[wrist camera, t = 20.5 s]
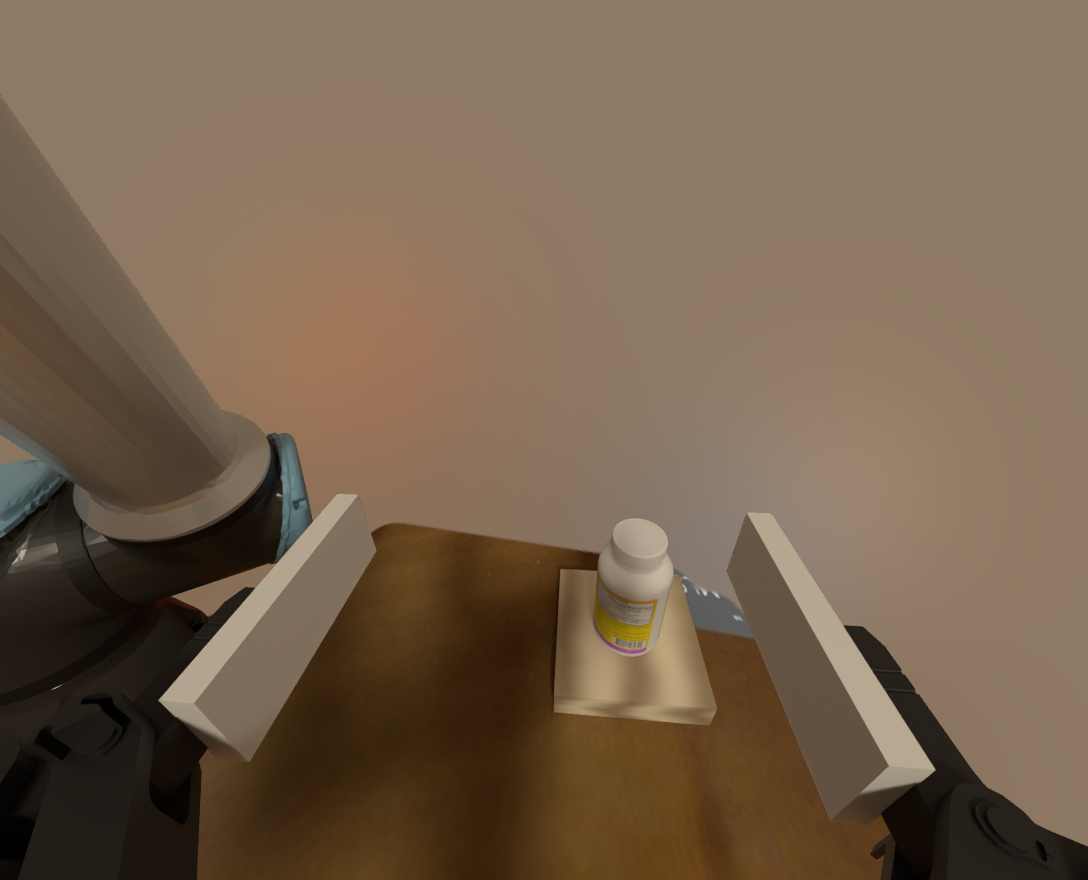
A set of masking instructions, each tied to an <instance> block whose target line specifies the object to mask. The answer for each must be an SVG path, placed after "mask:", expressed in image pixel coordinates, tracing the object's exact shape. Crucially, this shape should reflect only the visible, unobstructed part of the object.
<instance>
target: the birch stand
mask: <svg viewBox="0 0 1088 880" xmlns="http://www.w3.org/2000/svg"><path fill="white" fill-rule="evenodd" d="M596 583H597V571H589V570H572V569H561V570H560V589H559V608H558V627H557V646H556V665H555V684H554V712H557V713H569V714H581V715H592V716H604V717H616V718H628V719H639V720H651V721H663V722H675V723H686V724H698V725H710V723H711V721H712V719H713V717H714V715H715V712H716V710H717V707H716V703H715V699H714V696H713V692H712V689H711V685H710V681H709V678H708V674H707V671H706V667H705V664H704V660H703V656H702V653H701V649H700V646H699V642H698V638H697V635H696V631H695V628H694V624H693V621H692V617H691V613H690V610H689V606H688V603H687V599H686V595H685V592H684V588H683V585H682V581H681V578H680V576H675V575H673V580H672V585H671V589H670V593H669V597H668V601H667V605H666V609H665V614H664V618H663V622H662V627H661V631H660V635H659V638H658V641H657V643H656V644H655V646H654V647H653V648H652V649H651V650H650V651H649V652H647V653H645V654H643V655H640V656H635V657H629V656H623V655H619V654H617V653H615V652H613V651H611V650H610V649H608V648H607V647H606V646H605V645H604V644H603V643H602V642H601V641H600V639H599V638H598V636H597V634H596V631H595V628H594V621H593V620H594V606H595V595H596Z"/></svg>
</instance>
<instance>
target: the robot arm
mask: <svg viewBox="0 0 1088 880" xmlns="http://www.w3.org/2000/svg"><path fill="white" fill-rule="evenodd" d="M0 434H1V435H2V436H4V437H5V438H7V439H8V440H10V441H11V442H13V443H14V444H16V445H17V446H19V447H20V448H22V449H23V450H25V451H26V452H28V453H29V454H31V455H33V456H34V457H36V458H37V459H39V460H24V461H17V462H13V463H7V464H3V465H0V880H197V861H198V839H199V817H200V794H201V768H200V764H199V760H200V759H201V757H202V756H203V754H204V753H205V752H206V750H207V749H208V750H209V751H210V752H211V753H212V754H213V755H214V756H216V757H217V758H218V759H219V760H227V761H237V762H247V763H249V762H250V760H251V758H252V757H253V755H254V753H255V752H256V750H257V748H258V747H259V745H260V744H261V742H262V740H263V739H264V737H265V735H266V734H267V732H268V730H269V729H270V727H271V725H272V724H273V722H274V720H275V719H276V717H277V715H278V714H279V712H280V710H281V709H282V707H283V705H284V704H285V702H286V700H287V699H288V697H289V695H290V694H291V692H292V690H293V689H294V687H295V685H296V684H297V682H298V680H299V679H300V677H301V675H302V674H303V672H304V670H305V669H306V667H307V665H308V664H309V662H310V660H311V659H312V657H313V655H314V654H315V652H316V650H317V649H318V647H319V646H320V644H321V642H322V641H323V639H324V637H325V636H326V634H327V632H328V631H329V629H330V627H331V626H332V624H333V622H334V621H335V619H336V617H337V616H338V614H339V612H340V611H341V609H342V607H343V606H344V604H345V602H346V601H347V599H348V597H349V596H350V594H351V592H352V591H353V589H354V587H355V586H356V584H357V582H358V581H359V579H360V577H361V576H362V574H363V572H364V571H365V569H366V567H367V566H368V564H369V562H370V561H371V559H372V557H373V556H374V554H375V553H376V548H375V545H374V542H373V538H372V535H371V532H370V529H369V526H368V523H367V520H366V517H365V514H364V511H363V508H362V505H361V501H360V498H359V495H355V494H337V495H336V496H335V497H334V498H333V499H332V500H331V502H330V503H329V504H328V505H327V506H326V507H325V509H324V510H323V511H322V512H321V513H320V514H319V515H318V517H317V518H316V519H315V520H314V521H313V520H312V515H311V510H310V505H309V501H308V496H307V491H306V487H305V482H304V478H303V473H302V469H301V465H300V460H299V456H298V452H297V448H296V443H295V440H294V438H293V437H292V436H291V435H289V434H287V433H283V434H276V433H272V434H268V435H267V436H265V434H264V433H263V432H262V430H261V429H260V428H259V427H258V426H257V425H256V424H255V423H254V422H252V421H250V420H249V419H247V418H245V417H242V416H241V415H238V414H235V413H233V412H229V411H224V410H221V409H220V407H219V406H218V404H217V403H216V402H215V400H214V399H213V397H212V396H211V394H210V393H209V392H208V390H207V389H206V387H205V386H204V384H203V383H202V382H201V380H200V379H199V377H198V376H197V374H196V373H195V372H194V370H193V369H192V367H191V366H190V364H189V363H188V362H187V360H186V359H185V357H184V356H183V354H182V353H181V352H180V350H179V349H178V348H177V346H176V345H175V343H174V342H173V340H172V339H171V337H170V336H169V335H168V333H167V332H166V330H165V329H164V327H163V326H162V325H161V323H160V322H159V320H158V319H157V317H156V316H155V315H154V313H153V312H152V310H151V309H150V307H149V306H148V305H147V303H146V302H145V300H144V299H143V297H142V296H141V295H140V293H139V292H138V290H137V289H136V287H135V286H134V285H133V283H132V282H131V280H130V279H129V277H128V276H127V275H126V273H125V272H124V270H123V269H122V267H121V266H120V265H119V263H118V262H117V260H116V259H115V258H114V256H113V255H112V253H111V252H110V250H109V249H108V247H107V246H106V245H105V243H104V242H103V241H102V239H101V238H100V236H99V235H98V233H97V232H96V231H95V229H94V227H93V226H92V225H91V223H90V222H89V221H88V219H87V218H86V216H85V215H84V213H83V212H82V211H81V209H80V208H79V207H78V205H77V203H76V202H75V201H74V199H73V198H72V196H71V195H70V193H69V192H68V191H67V189H66V188H65V186H64V185H63V183H62V182H61V180H60V179H59V178H58V176H57V175H56V173H55V172H54V170H53V169H52V168H51V166H50V165H49V163H48V162H47V160H46V159H45V158H44V156H43V155H42V153H41V152H40V150H39V149H38V148H37V146H36V145H35V143H34V142H33V141H32V139H31V138H30V136H29V135H28V133H27V132H26V131H25V129H24V128H23V126H22V125H21V123H20V122H19V121H18V119H17V118H16V116H15V115H14V113H13V112H12V111H11V109H10V108H9V106H8V105H7V103H6V102H5V101H4V99H3V98H2V96H1V95H0ZM268 563H270V564H274V563H277V564H276V565H275V566H274V567H273V569H272V570H271V571H270V572H269V573H268V575H267V576H266V577H265V578H264V579H263V580H262V581H261V582H260V584H259V585H258V586H257V587H256V588H248V587H245V588H244V589H242V590H241V591H239V592H238V593H237V594H235V595H234V596H233V597H231V598H230V599H228V600H227V601H226V602H224V603H223V604H222V606H221V607H220V608H219V609H218V610H217V611H216V612H215V613H214V614H213V615H212V617H211V618H210V619H209V618H208V617H207V616H206V615H205V614H204V613H203V612H202V611H201V610H199V609H197V608H195V607H193V606H191V605H189V604H186V603H184V602H182V601H180V600H178V599H176V598H173V597H171V596H173V595H176V594H179V593H182V592H185V591H188V590H191V589H194V588H197V587H200V586H203V585H206V584H209V583H212V582H214V581H218V580H221V579H223V578H227V577H229V576H233V575H236V574H238V573H241V572H244V571H247V570H250V569H253V568H256V567H259V566H262V565H265V564H268ZM727 573H728V575H729V578H730V580H731V582H732V584H733V587H734V590H735V592H736V595H737V597H738V599H739V602H740V604H741V607H742V609H743V611H744V614H745V616H746V619H747V621H748V624H749V626H750V628H751V631H752V633H753V636H754V638H755V640H756V643H757V645H758V648H759V650H760V653H761V655H762V657H763V660H764V662H765V665H766V667H767V669H768V672H769V674H770V677H771V679H772V682H773V684H774V686H775V689H776V691H777V694H778V696H779V698H780V701H781V703H782V706H783V708H784V711H785V713H786V715H787V718H788V720H789V723H790V725H791V727H792V730H793V732H794V735H795V737H796V740H797V742H798V744H799V747H800V749H801V752H802V754H803V756H804V759H805V761H806V764H807V766H808V769H809V771H810V773H811V776H812V778H813V781H814V783H815V785H816V788H817V790H818V793H819V795H820V798H821V800H822V802H823V805H824V807H825V810H826V812H827V814H828V817H829V819H830V821H834V822H843V823H853V824H863V825H869V824H870V823H871V822H873V821H874V820H875V819H876V818H878V817H879V816H880V815H882V817H883V819H884V821H885V823H886V825H887V827H888V829H889V831H890V833H891V834H890V835H888V836H887V837H886V838H884V839H883V840H882V841H880V842H879V843H877V844H876V845H875V846H874V848H873V850H872V852H871V854H870V855H872V856H873V857H874V858H875V859H876V860H877V859H879V858H880V857H882V856H883V855H884V854H885V855H884V861H883V868H882V874H881V880H1088V846H1085V845H1083V844H1080V843H1078V842H1075V841H1073V840H1071V839H1068V838H1066V837H1063V836H1061V835H1059V834H1056V833H1054V832H1051V831H1049V830H1047V829H1044V828H1043V827H1040V826H1038V825H1036V824H1035V823H1034V822H1033V821H1032V820H1031V819H1030V818H1029V817H1028V816H1027V815H1026V814H1025V813H1024V812H1023V811H1022V810H1021V809H1019V808H1018V807H1017V806H1015V805H1014V804H1013V803H1012V802H1010V801H1009V800H1008V799H1006V798H1005V797H1004V796H1002V795H1001V794H999V793H997V792H995V791H993V790H991V789H989V788H987V787H986V786H985V785H984V784H983V783H982V782H981V780H980V779H979V778H978V776H977V775H976V774H975V773H974V772H973V770H972V769H971V768H970V766H969V765H968V763H967V762H966V761H965V759H964V758H963V756H962V755H961V754H960V752H959V750H958V749H957V748H956V746H955V745H954V744H953V742H952V741H951V739H950V738H949V736H948V735H947V734H946V732H945V731H944V729H943V728H942V726H941V725H940V724H939V722H938V721H937V719H936V718H935V717H934V715H933V714H932V712H931V711H930V710H929V708H928V707H927V705H926V704H925V703H924V701H923V700H922V698H921V697H920V695H919V694H916V693H915V688H914V687H913V685H912V684H911V683H910V681H909V680H908V678H907V677H906V676H905V675H903V674H902V672H901V669H900V667H899V666H898V664H897V663H896V661H895V660H894V659H893V657H892V656H891V654H890V653H889V652H888V650H887V649H886V647H885V646H884V645H882V644H881V643H880V642H879V641H878V640H877V639H876V638H874V636H873V635H871V634H870V633H869V632H868V631H867V630H866V629H865V628H864V627H860V626H844V625H842V623H841V622H840V620H839V619H838V617H837V615H836V614H835V612H834V611H833V609H832V608H831V606H830V605H829V603H828V601H827V600H826V598H825V597H824V595H823V594H822V592H821V590H820V589H819V588H818V586H817V584H816V583H815V581H814V580H813V578H812V577H811V575H810V573H809V572H808V570H807V569H806V567H805V566H804V564H803V562H802V561H801V559H800V558H799V556H798V555H797V553H796V552H795V550H794V548H793V547H792V545H791V544H790V542H789V541H788V539H787V538H786V536H785V535H784V533H783V531H782V530H781V528H780V527H779V525H778V524H777V522H776V520H775V519H774V517H773V516H772V514H769V513H746V516H745V519H744V522H743V525H742V527H741V531H740V533H739V536H738V539H737V542H736V545H735V548H734V551H733V554H732V557H731V559H730V562H729V565H728V568H727Z"/></svg>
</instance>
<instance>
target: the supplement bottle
mask: <svg viewBox="0 0 1088 880" xmlns="http://www.w3.org/2000/svg"><path fill="white" fill-rule="evenodd" d="M667 547H668V539H667V536H666V534H665V532H664V531H663V530H662V529H661V528H660V527H659V526H657V525H656V524H654V523H652V522H650V521H647V520H644V519H638V518H632V519H626V520H623V521H621V522H619V523H618V524H617V525H616V526H615V527H614V529H613V532H612V539H611V541H610V542H609V543H607V544H606V545H605V547H604V548H603V549H602V551H601V553H600V556H599V560H598V571H597V583H596V595H595V606H594V620H593V621H594V628H595V631H596V634H597V636H598V638H599V639H600V641H601V642H602V643H603V644H604V645H605V646H606V647H607V648H608V649H610V650H611V651H613V652H615V653H617V654H619V655H623V656H629V657H635V656H640V655H643V654H645V653H647V652H649V651H650V650H651V649H652V648H653V647H654V646H655V644H656V643H657V641H658V638H659V635H660V631H661V627H662V622H663V618H664V614H665V609H666V605H667V601H668V597H669V593H670V589H671V585H672V580H673V565H672V562H671V560H670V558H669V556H668V554H667Z"/></svg>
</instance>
